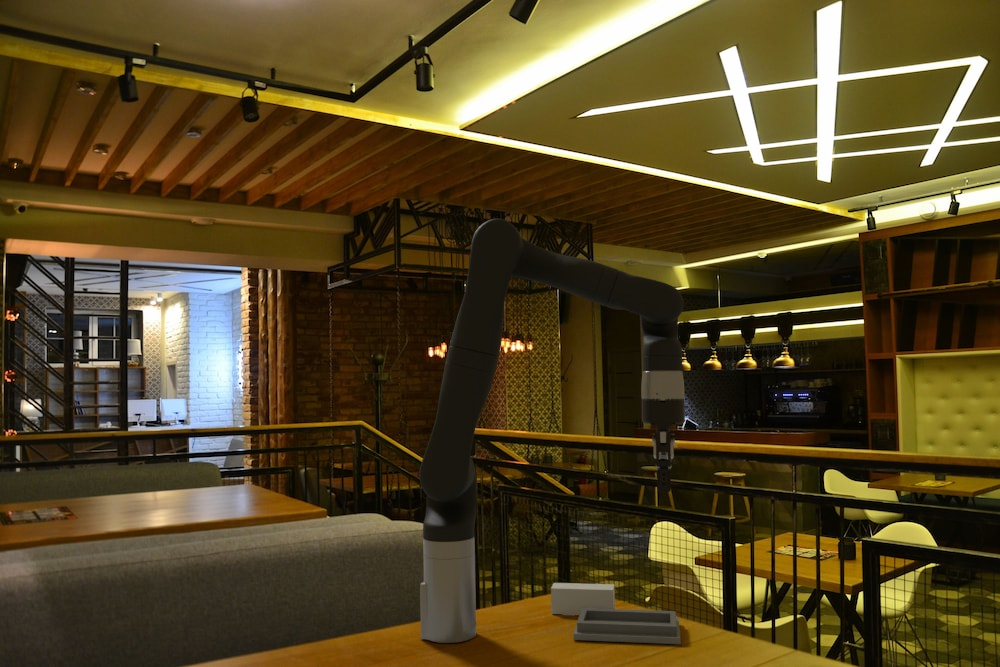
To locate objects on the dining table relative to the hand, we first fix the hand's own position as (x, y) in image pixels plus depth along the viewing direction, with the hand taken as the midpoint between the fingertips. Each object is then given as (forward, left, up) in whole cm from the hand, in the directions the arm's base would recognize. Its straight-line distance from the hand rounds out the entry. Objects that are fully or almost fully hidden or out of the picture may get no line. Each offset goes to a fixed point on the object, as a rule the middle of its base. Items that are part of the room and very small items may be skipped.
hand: (664, 488), depth 137 cm
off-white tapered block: (-16, +13, -26) cm, 33 cm away
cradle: (-7, +1, -25) cm, 26 cm away
